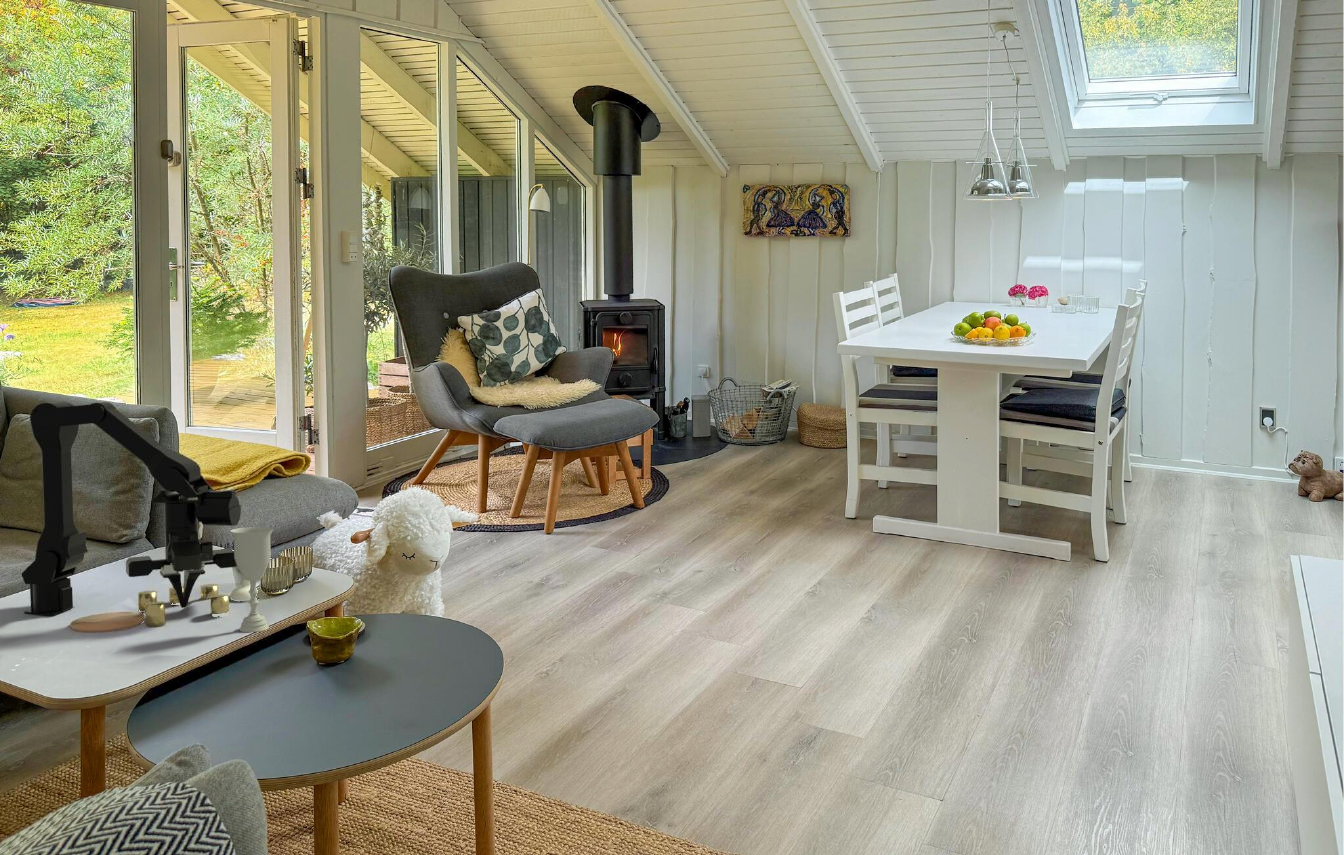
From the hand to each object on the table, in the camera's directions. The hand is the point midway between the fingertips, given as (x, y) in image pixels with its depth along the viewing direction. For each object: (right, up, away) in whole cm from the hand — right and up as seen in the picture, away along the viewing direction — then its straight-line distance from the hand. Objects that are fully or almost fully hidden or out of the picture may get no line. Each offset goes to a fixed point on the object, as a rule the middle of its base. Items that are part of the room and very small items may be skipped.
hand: (183, 607), depth 200 cm
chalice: (+17, -2, -10) cm, 20 cm away
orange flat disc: (-11, -2, -7) cm, 13 cm away
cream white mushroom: (+9, -1, +8) cm, 12 cm away
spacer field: (0, -2, 0) cm, 2 cm away
